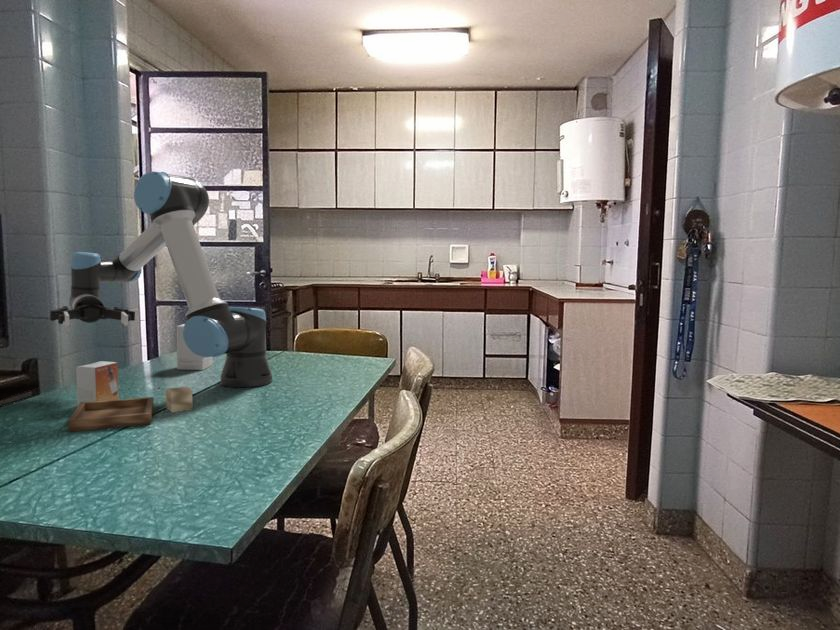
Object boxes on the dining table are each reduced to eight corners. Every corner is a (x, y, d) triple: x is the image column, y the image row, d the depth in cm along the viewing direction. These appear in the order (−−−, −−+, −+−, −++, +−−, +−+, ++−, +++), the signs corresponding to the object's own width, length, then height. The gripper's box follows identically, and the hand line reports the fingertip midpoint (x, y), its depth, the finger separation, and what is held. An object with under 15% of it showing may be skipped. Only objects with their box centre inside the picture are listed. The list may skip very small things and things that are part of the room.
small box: (96, 409, 137) (94, 367, 136) (76, 407, 138) (75, 366, 137) (119, 401, 145) (118, 361, 144) (101, 399, 146) (99, 360, 145)
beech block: (186, 405, 143) (186, 386, 142) (192, 409, 139) (192, 390, 138) (166, 408, 139) (165, 389, 139) (171, 412, 136) (170, 393, 135)
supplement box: (203, 370, 185) (202, 326, 183) (176, 370, 185) (175, 325, 183) (213, 365, 194) (212, 323, 192) (188, 364, 194) (187, 322, 192)
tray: (153, 406, 140) (153, 397, 140) (150, 424, 126) (150, 413, 125) (80, 412, 134) (80, 402, 134) (68, 431, 119) (68, 420, 119)
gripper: (134, 320, 171) (148, 333, 154) (37, 320, 156) (40, 335, 139) (135, 296, 170) (149, 307, 153) (37, 294, 155) (40, 306, 138)
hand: (97, 320), depth 146 cm, fingers open, 13 cm apart
